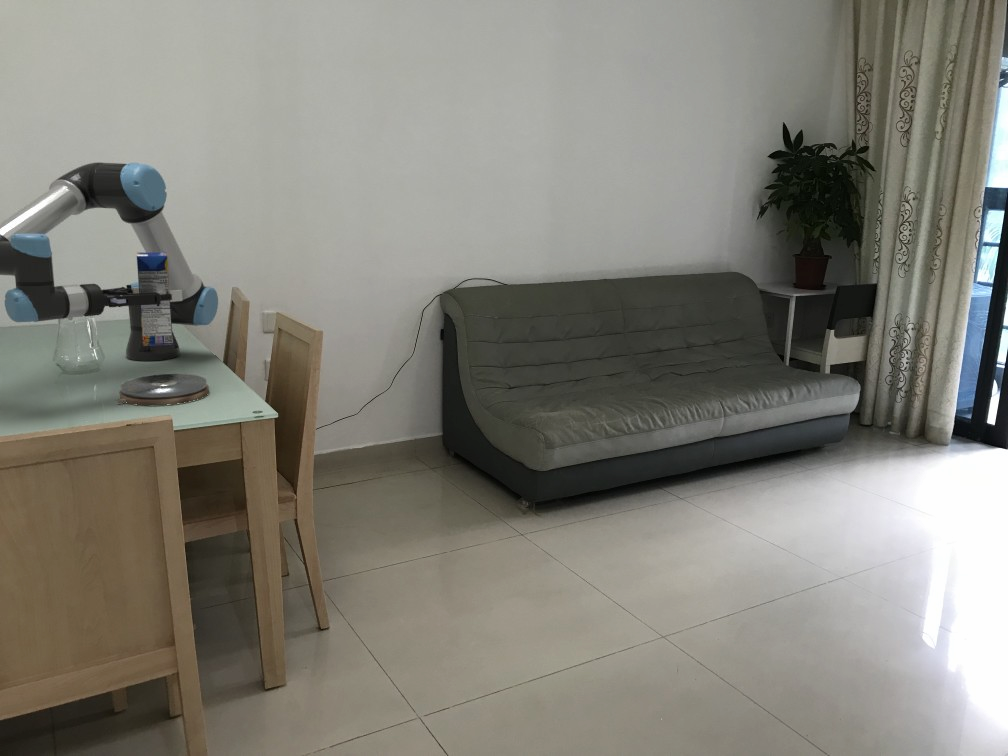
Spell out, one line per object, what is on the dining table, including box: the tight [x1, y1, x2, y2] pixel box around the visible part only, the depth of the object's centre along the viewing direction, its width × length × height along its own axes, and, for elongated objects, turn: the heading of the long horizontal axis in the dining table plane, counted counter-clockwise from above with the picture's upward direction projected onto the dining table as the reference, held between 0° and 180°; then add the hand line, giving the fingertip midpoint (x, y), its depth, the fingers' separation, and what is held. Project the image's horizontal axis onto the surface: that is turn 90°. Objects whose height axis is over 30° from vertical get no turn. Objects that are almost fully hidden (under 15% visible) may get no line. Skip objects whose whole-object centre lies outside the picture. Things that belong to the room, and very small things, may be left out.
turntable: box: [120, 373, 208, 399], centre depth 205 cm, size 20×20×2 cm
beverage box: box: [136, 252, 173, 346], centre depth 204 cm, size 7×11×22 cm, turn 23°
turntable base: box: [116, 384, 210, 406], centre depth 205 cm, size 23×21×2 cm
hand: (169, 293), depth 207 cm, fingers closed on beverage box, 10 cm apart
